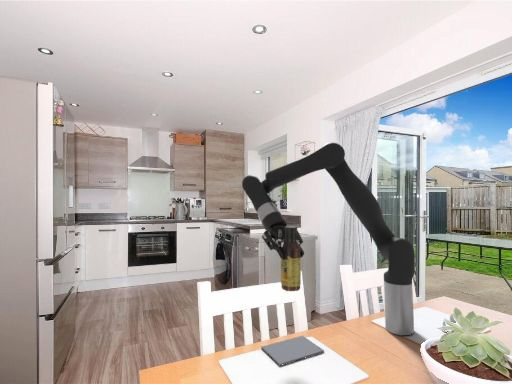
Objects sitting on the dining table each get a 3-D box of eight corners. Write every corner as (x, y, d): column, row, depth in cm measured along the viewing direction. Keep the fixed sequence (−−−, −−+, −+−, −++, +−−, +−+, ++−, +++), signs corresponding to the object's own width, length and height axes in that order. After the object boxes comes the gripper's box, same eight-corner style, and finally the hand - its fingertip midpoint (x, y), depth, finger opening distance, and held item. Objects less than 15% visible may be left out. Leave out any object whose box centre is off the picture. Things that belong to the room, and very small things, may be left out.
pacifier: (454, 338, 93) (468, 336, 95) (452, 319, 94) (467, 317, 95) (436, 329, 101) (450, 327, 102) (435, 311, 101) (448, 309, 102)
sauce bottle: (279, 286, 90) (278, 225, 91) (298, 285, 91) (297, 225, 92) (283, 293, 84) (282, 227, 85) (303, 292, 84) (302, 227, 85)
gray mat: (302, 337, 95) (302, 335, 95) (324, 352, 85) (323, 350, 85) (261, 348, 87) (261, 346, 87) (279, 366, 78) (279, 364, 78)
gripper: (258, 211, 91) (281, 252, 80) (291, 210, 99) (316, 247, 88) (250, 226, 95) (270, 267, 85) (282, 224, 103) (305, 261, 92)
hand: (294, 257), depth 86 cm, fingers closed on sauce bottle, 6 cm apart
